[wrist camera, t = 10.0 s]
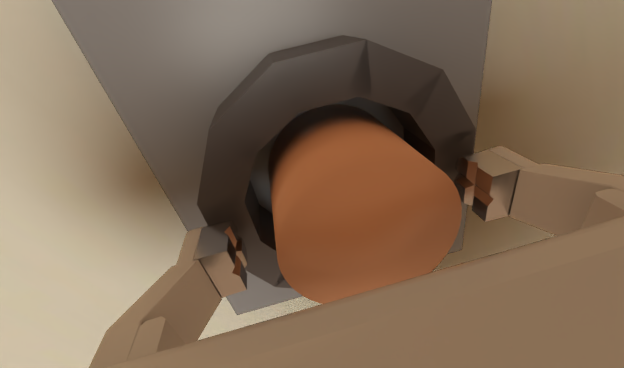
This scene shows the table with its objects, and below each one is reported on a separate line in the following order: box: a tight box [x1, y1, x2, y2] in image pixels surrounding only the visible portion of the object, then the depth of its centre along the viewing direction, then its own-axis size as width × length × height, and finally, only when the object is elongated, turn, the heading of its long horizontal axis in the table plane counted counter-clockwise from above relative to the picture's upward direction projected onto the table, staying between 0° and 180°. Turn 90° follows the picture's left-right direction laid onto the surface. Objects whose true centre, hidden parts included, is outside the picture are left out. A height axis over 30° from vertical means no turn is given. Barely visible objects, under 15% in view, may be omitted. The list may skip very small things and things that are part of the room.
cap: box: [268, 104, 462, 304], centre depth 10 cm, size 6×6×5 cm
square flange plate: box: [52, 0, 492, 315], centre depth 12 cm, size 14×16×4 cm
